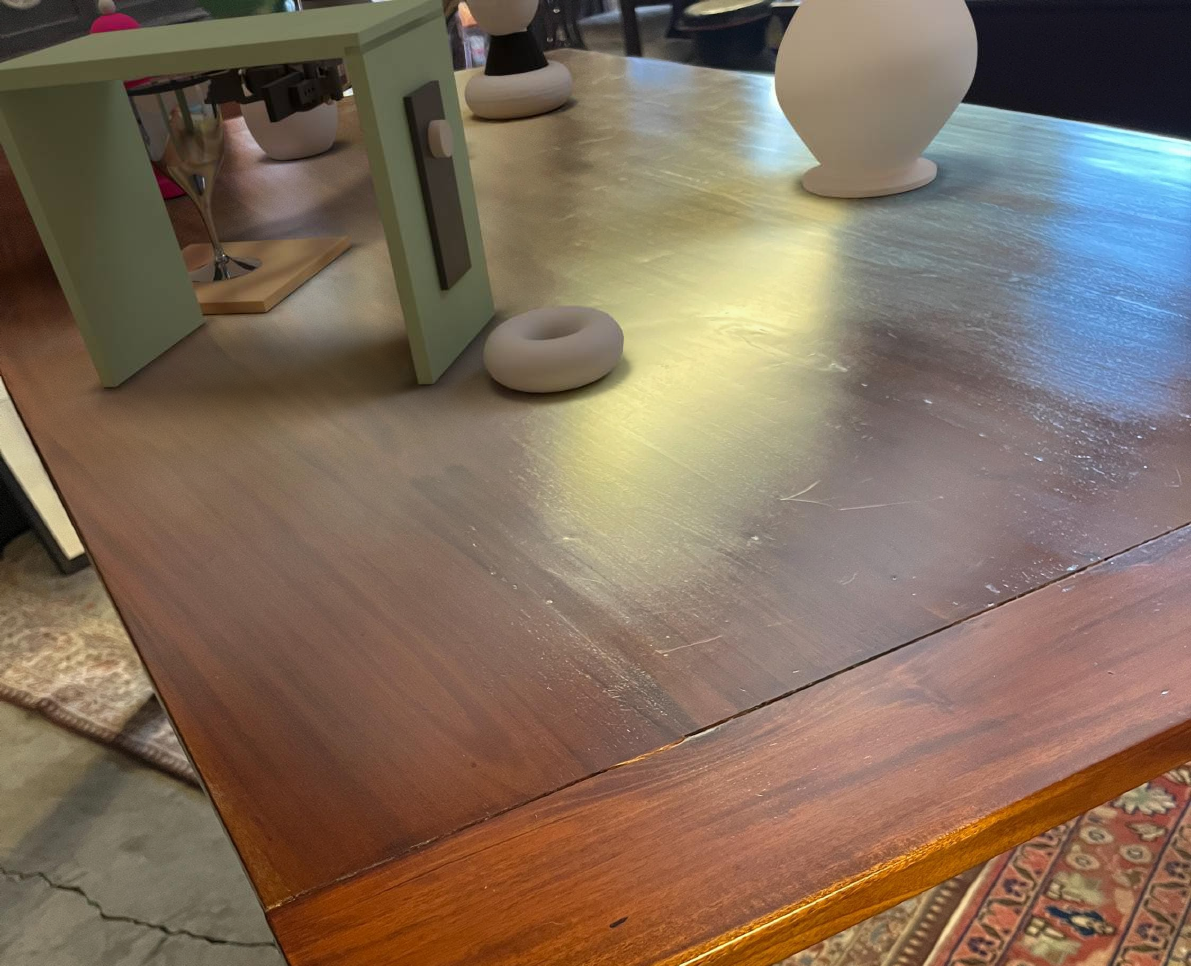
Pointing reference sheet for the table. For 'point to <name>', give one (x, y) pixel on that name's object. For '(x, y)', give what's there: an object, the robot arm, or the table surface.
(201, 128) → the wine glass
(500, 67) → the decorative figurine
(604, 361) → the donut
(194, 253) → the cutting board
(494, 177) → the table surface
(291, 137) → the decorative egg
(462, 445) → the table surface
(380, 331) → the table surface
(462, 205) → the cubby
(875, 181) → the decorative vase
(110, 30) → the pepper mill
